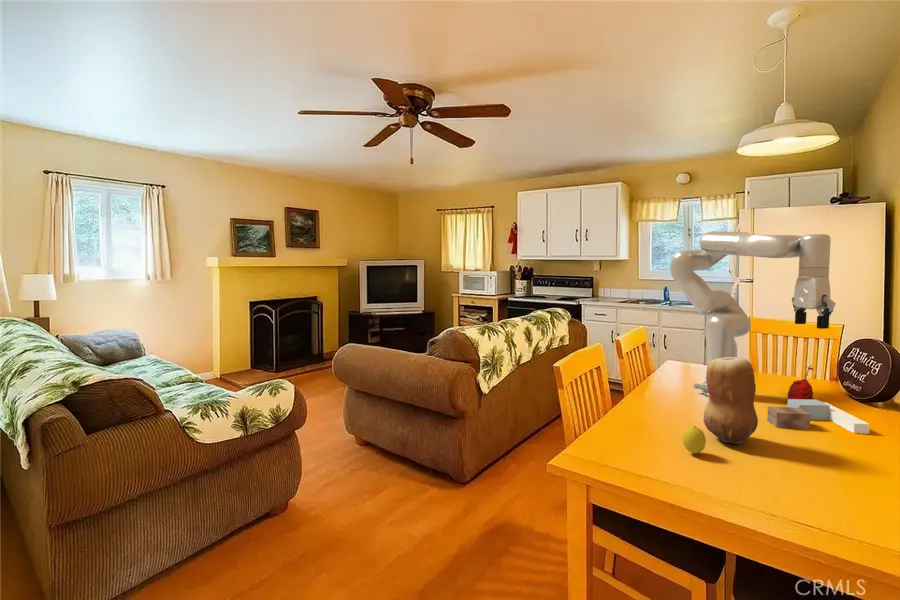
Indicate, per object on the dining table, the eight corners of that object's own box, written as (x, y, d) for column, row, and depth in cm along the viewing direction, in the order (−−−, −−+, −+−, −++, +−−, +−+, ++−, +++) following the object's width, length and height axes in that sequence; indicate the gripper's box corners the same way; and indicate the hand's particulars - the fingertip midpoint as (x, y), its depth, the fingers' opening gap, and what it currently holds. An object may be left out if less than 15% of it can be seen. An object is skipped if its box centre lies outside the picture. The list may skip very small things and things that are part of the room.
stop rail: (853, 433, 131) (854, 423, 131) (812, 410, 151) (812, 402, 151) (869, 434, 130) (869, 424, 130) (825, 411, 150) (826, 402, 150)
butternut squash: (699, 430, 137) (701, 351, 134) (749, 435, 132) (752, 353, 130) (708, 448, 124) (711, 361, 121) (765, 454, 119) (768, 364, 117)
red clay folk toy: (795, 399, 162) (797, 359, 161) (817, 405, 156) (819, 363, 155) (783, 403, 159) (785, 362, 158) (805, 408, 153) (807, 366, 152)
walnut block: (776, 428, 137) (776, 412, 137) (767, 421, 143) (767, 406, 143) (809, 430, 135) (810, 414, 135) (799, 422, 141) (799, 407, 140)
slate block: (798, 419, 143) (799, 405, 143) (787, 413, 149) (787, 399, 149) (828, 420, 142) (829, 405, 142) (815, 413, 148) (816, 399, 148)
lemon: (702, 451, 122) (703, 423, 121) (707, 459, 117) (708, 430, 116) (680, 448, 124) (681, 421, 123) (684, 457, 119) (684, 428, 118)
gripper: (782, 272, 149) (780, 322, 151) (821, 274, 132) (818, 330, 133) (806, 272, 148) (804, 322, 150) (848, 273, 131) (845, 330, 133)
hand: (811, 326), depth 142 cm, fingers open, 9 cm apart
